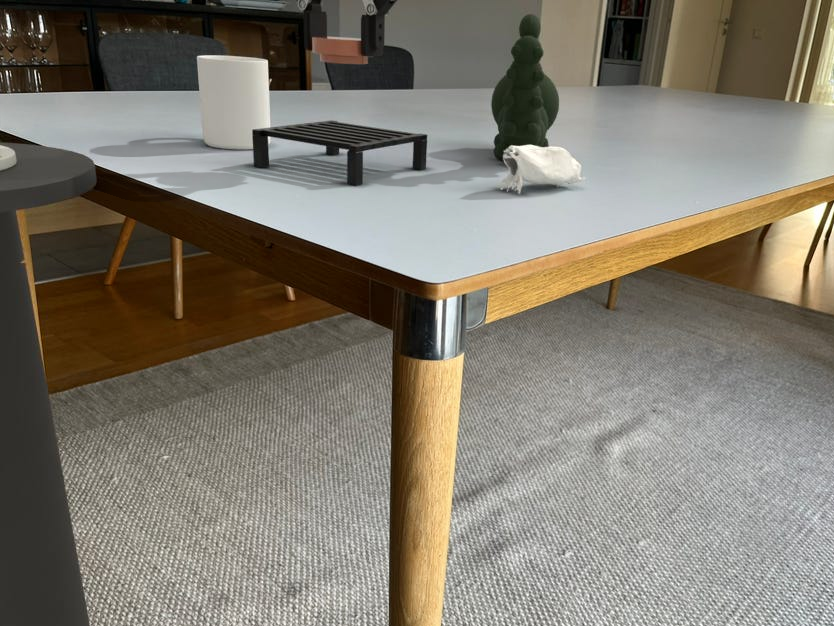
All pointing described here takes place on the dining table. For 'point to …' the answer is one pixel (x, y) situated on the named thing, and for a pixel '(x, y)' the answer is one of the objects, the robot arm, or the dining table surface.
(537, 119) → the toy figurine
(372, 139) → the rack
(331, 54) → the terracotta round box
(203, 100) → the mug
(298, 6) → the robot arm
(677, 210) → the dining table surface
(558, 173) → the white lumpy oblong piece
